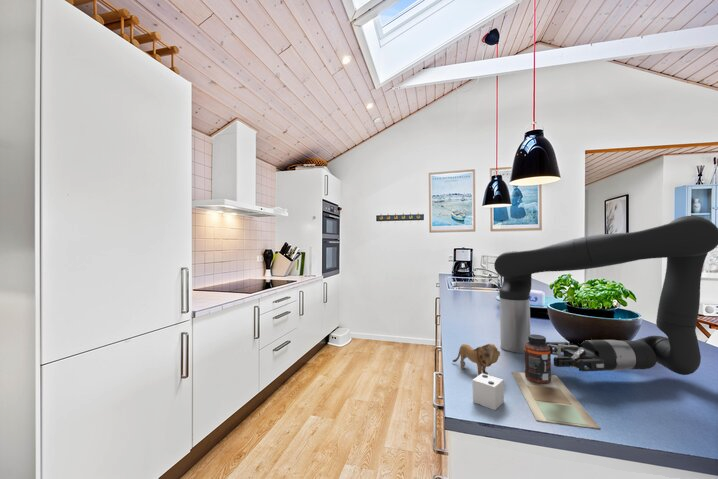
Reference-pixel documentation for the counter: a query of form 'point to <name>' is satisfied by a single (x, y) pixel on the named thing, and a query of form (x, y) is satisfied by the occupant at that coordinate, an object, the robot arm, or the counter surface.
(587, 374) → the counter surface
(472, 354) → the lion figurine
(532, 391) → the game board
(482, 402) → the die
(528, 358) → the supplement bottle
